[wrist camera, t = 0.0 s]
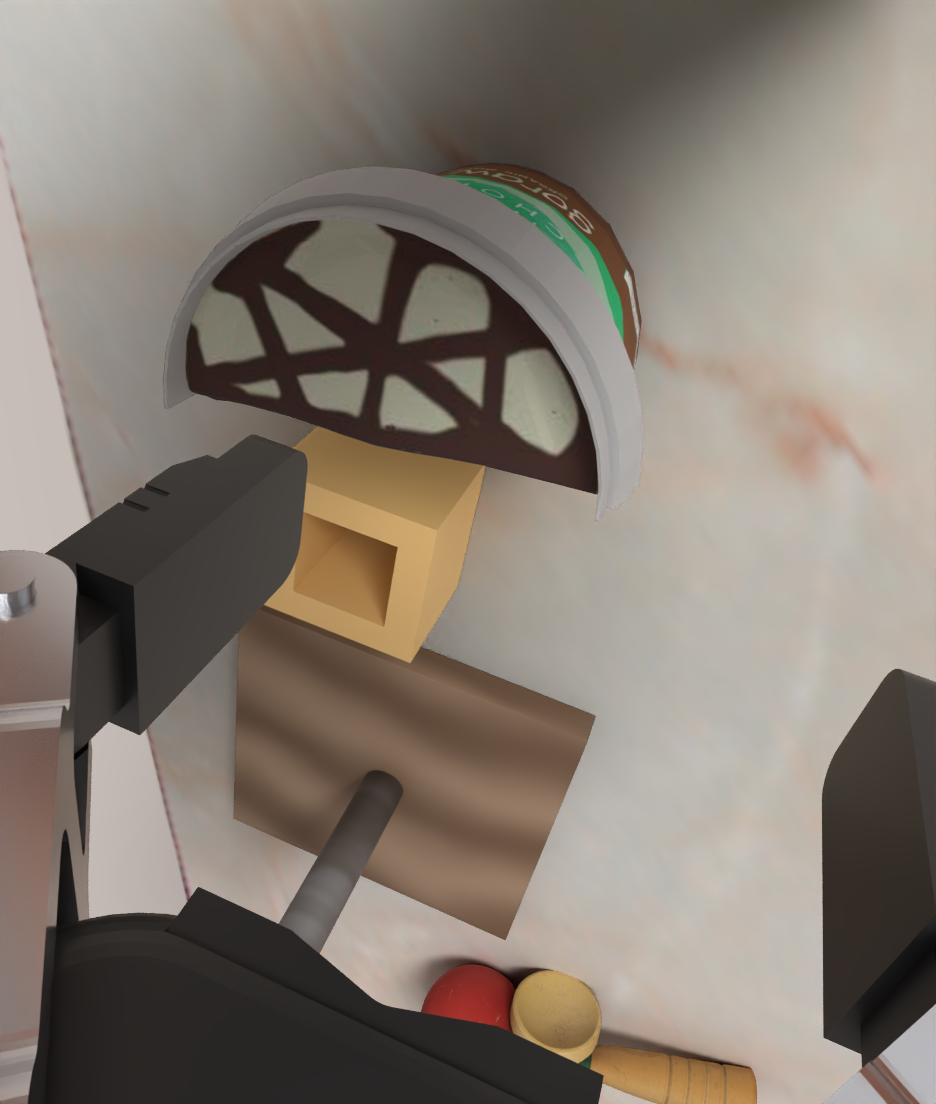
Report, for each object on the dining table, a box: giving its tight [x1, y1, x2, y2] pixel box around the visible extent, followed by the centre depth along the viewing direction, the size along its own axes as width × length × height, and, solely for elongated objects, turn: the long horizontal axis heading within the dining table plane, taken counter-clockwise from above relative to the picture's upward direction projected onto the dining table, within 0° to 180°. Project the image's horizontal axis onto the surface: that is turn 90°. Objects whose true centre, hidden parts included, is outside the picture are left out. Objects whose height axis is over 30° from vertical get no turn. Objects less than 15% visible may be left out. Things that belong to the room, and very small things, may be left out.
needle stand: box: [234, 605, 595, 953], centre depth 37 cm, size 16×16×14 cm
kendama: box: [421, 965, 757, 1104], centre depth 46 cm, size 8×6×18 cm
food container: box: [163, 163, 643, 521], centre depth 22 cm, size 12×6×10 cm, turn 85°
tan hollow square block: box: [264, 426, 486, 663], centre depth 31 cm, size 6×6×5 cm
